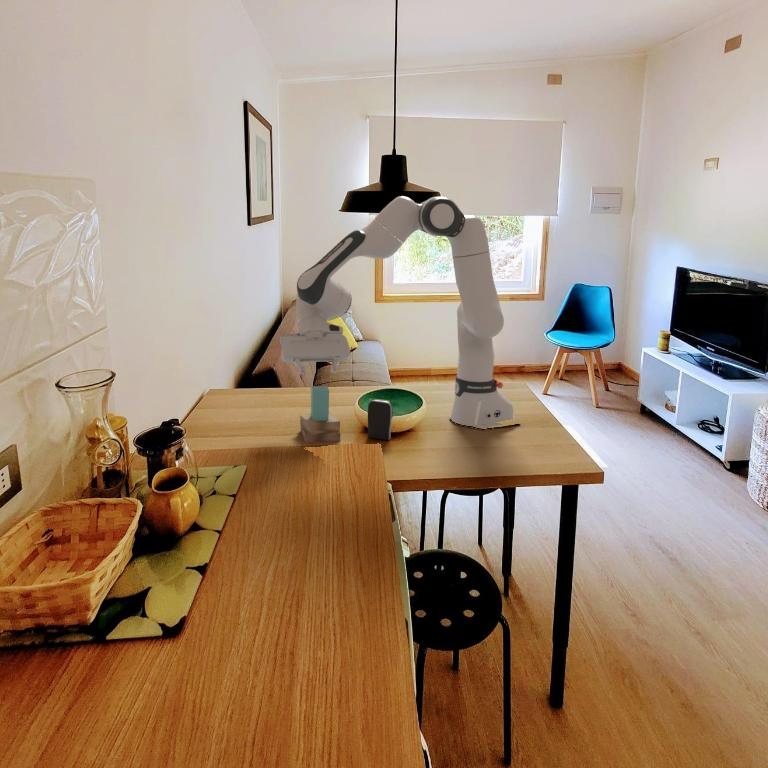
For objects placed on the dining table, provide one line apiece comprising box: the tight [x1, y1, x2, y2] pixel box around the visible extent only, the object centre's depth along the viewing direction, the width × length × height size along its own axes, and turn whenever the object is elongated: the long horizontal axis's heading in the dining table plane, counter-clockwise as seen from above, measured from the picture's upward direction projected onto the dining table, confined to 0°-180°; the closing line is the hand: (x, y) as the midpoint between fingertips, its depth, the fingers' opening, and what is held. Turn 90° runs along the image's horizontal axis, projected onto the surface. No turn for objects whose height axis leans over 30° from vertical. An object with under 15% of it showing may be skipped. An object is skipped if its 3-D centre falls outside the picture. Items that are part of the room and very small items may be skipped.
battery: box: [367, 398, 394, 441], centre depth 175 cm, size 7×4×11 cm, turn 73°
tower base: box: [300, 425, 341, 444], centre depth 176 cm, size 10×10×3 cm
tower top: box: [299, 411, 341, 434], centre depth 175 cm, size 9×9×3 cm
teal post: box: [310, 385, 330, 421], centre depth 174 cm, size 4×4×9 cm
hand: (318, 372), depth 176 cm, fingers open, 8 cm apart
